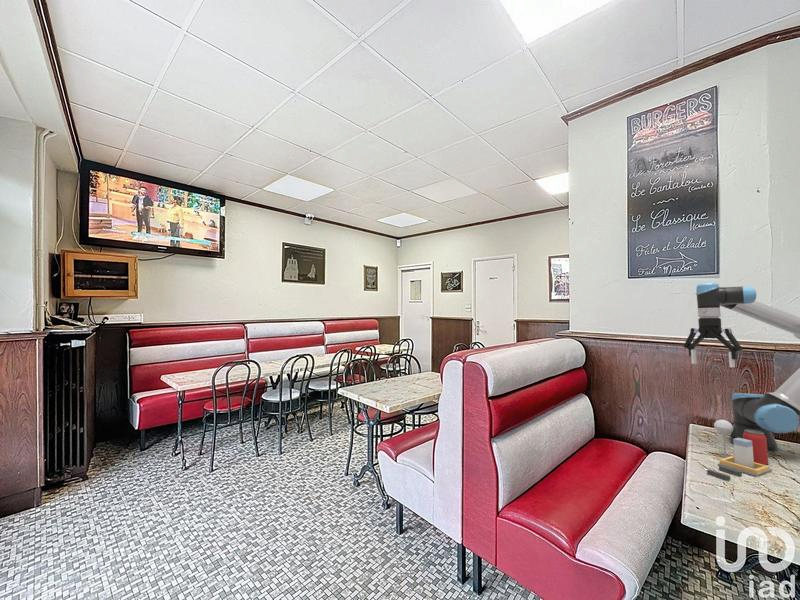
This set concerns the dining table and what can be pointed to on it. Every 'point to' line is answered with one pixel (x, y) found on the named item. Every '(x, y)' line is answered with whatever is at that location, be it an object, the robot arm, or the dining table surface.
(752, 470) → the panel
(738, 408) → the robot arm
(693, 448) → the dining table surface
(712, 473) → the dark gray parallel bars
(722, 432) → the lollipop
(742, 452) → the plug
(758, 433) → the beer can
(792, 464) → the dining table surface
